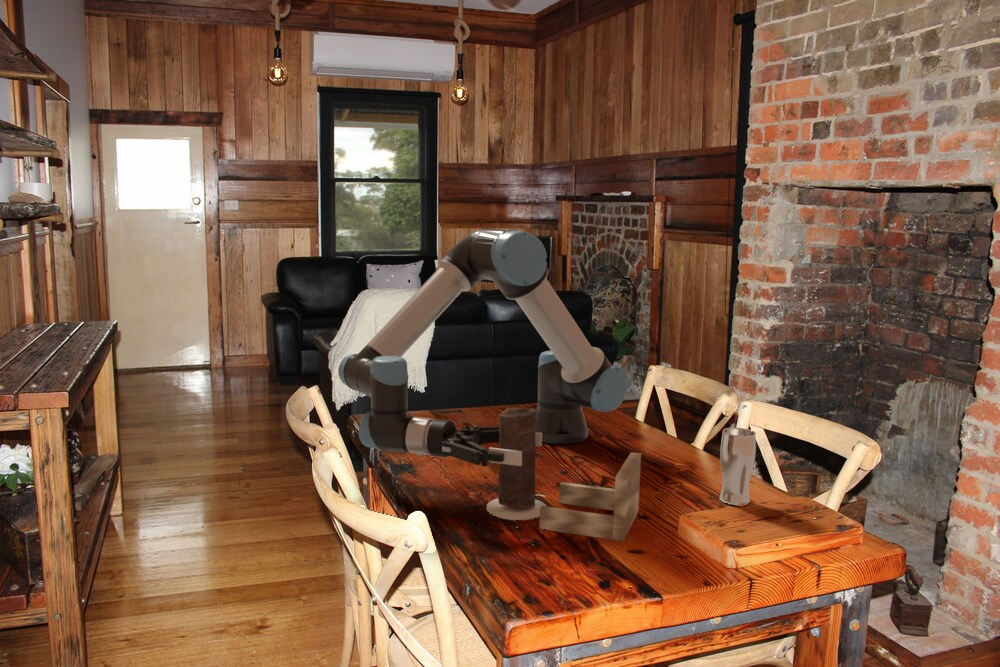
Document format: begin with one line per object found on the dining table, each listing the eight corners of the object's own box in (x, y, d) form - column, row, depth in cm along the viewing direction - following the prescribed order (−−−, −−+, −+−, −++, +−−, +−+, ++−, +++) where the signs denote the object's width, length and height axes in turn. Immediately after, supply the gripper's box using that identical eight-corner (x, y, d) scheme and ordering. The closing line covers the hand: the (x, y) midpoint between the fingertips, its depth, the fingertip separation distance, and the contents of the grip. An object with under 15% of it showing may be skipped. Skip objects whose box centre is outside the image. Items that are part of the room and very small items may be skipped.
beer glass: (711, 501, 173) (715, 431, 170) (727, 493, 178) (731, 425, 175) (742, 510, 168) (747, 438, 166) (757, 501, 173) (762, 431, 171)
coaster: (511, 494, 174) (511, 492, 174) (558, 508, 167) (558, 505, 167) (474, 510, 165) (474, 507, 165) (522, 525, 158) (522, 523, 158)
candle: (522, 516, 161) (524, 416, 158) (490, 508, 165) (491, 410, 161) (541, 504, 167) (543, 408, 164) (510, 497, 171) (512, 402, 168)
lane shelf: (539, 528, 156) (540, 467, 154) (560, 500, 171) (562, 444, 169) (623, 541, 151) (626, 478, 149) (638, 511, 166) (641, 453, 164)
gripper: (454, 438, 182) (548, 449, 175) (406, 473, 159) (511, 487, 152) (455, 405, 181) (549, 415, 174) (406, 435, 158) (512, 447, 151)
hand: (532, 448), depth 163 cm, fingers open, 13 cm apart
